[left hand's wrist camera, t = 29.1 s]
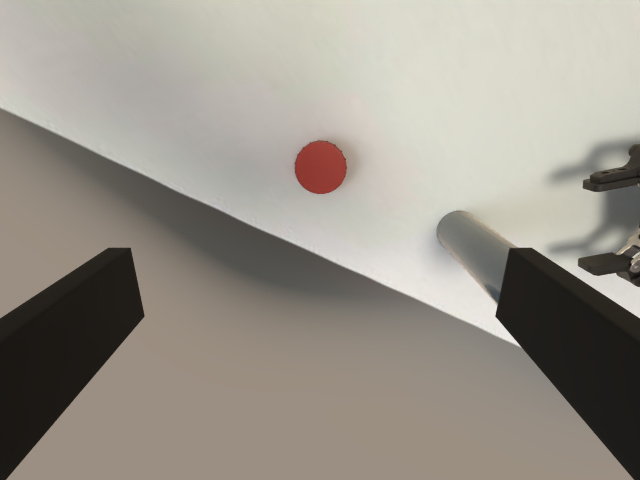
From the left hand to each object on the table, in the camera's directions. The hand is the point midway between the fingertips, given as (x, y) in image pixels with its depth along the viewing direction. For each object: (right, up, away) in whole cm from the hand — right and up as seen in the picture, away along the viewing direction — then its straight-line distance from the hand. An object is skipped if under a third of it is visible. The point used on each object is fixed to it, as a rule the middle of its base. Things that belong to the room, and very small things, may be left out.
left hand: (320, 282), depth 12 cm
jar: (+16, +3, +29) cm, 34 cm away
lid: (0, +9, +26) cm, 27 cm away
